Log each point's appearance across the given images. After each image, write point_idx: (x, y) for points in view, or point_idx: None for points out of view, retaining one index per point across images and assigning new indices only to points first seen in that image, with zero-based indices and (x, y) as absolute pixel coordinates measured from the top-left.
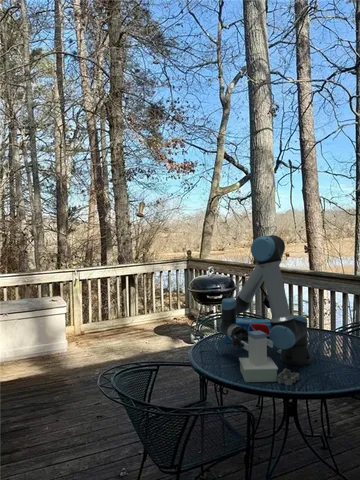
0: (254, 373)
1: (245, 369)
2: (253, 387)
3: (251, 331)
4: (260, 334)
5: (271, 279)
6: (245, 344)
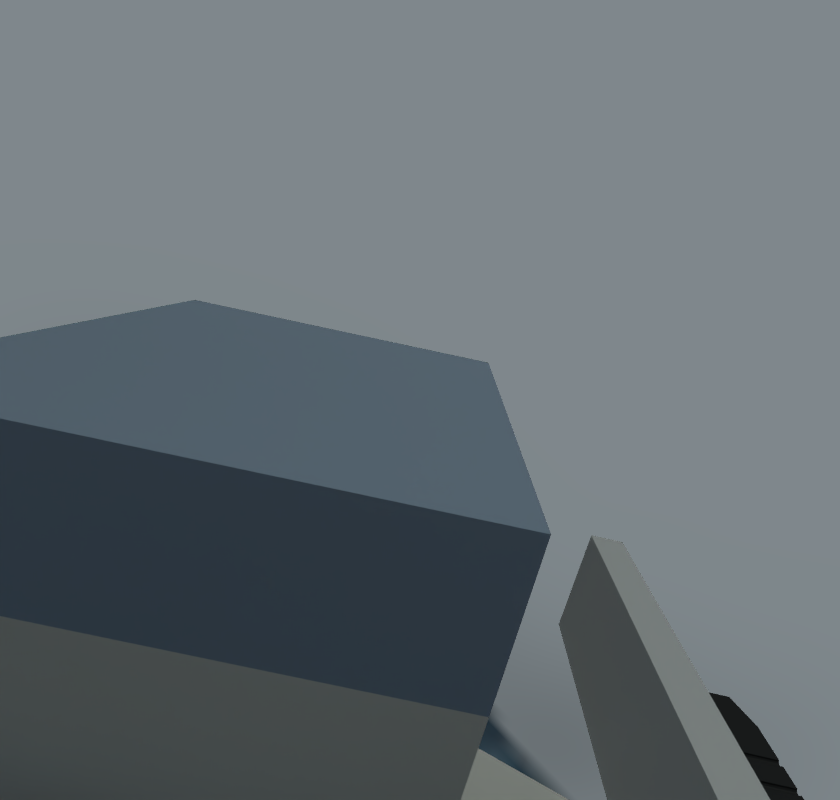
0: None
1: (559, 795)
2: (486, 746)
3: (353, 483)
4: (351, 335)
5: None
6: (647, 610)
